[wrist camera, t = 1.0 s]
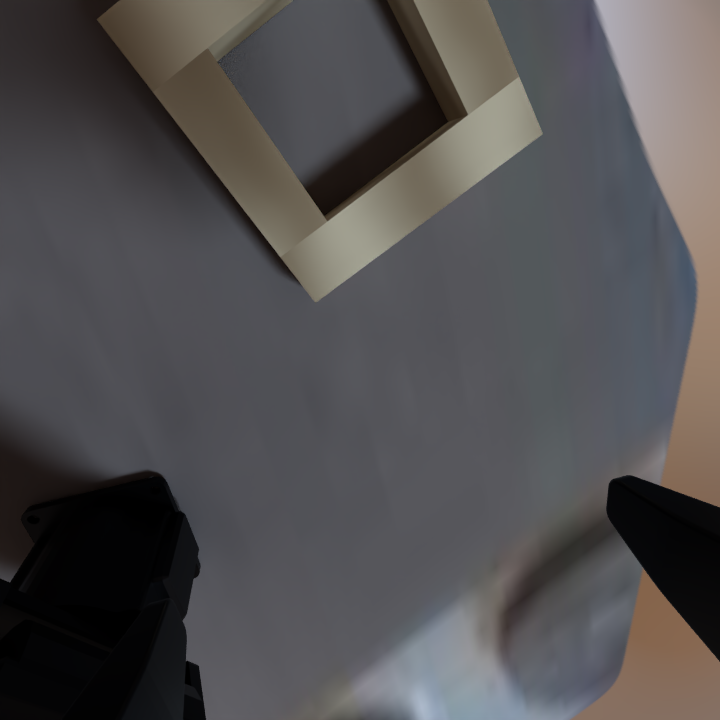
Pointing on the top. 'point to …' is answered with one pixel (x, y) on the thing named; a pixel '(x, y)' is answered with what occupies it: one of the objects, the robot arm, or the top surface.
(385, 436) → the top surface
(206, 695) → the top surface
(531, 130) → the birch hole board
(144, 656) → the robot arm
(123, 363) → the top surface
